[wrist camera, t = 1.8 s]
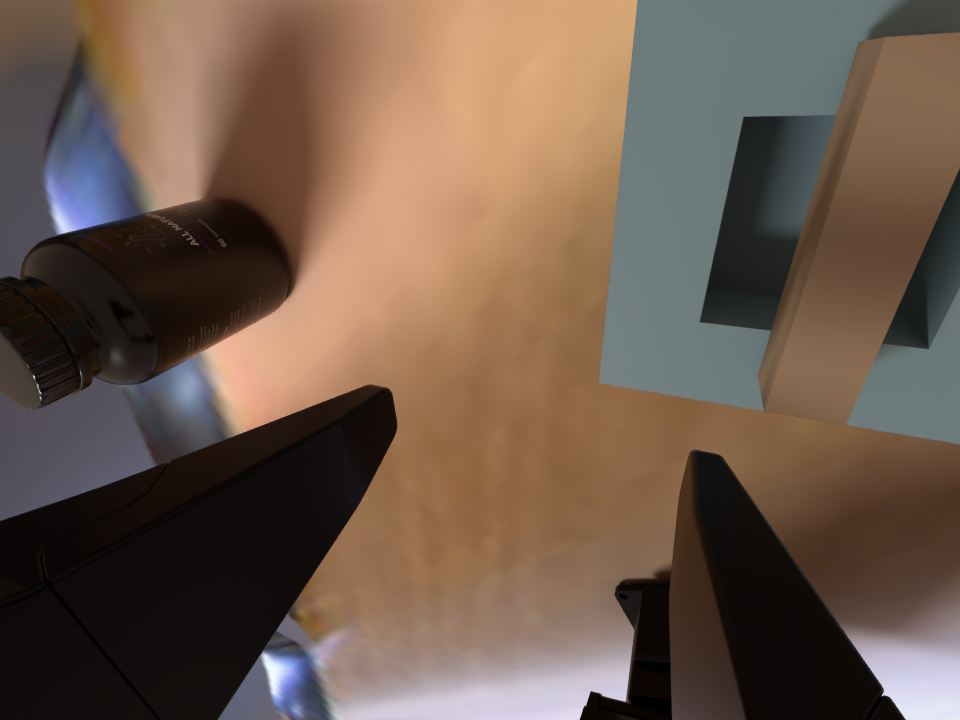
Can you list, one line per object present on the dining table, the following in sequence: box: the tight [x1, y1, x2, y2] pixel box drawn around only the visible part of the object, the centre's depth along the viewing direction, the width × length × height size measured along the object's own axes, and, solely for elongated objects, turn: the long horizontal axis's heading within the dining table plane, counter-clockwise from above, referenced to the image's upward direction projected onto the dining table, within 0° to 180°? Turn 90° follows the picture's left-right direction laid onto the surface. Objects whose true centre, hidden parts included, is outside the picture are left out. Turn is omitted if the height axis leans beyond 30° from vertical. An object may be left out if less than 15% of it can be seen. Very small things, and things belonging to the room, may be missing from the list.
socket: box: [599, 0, 960, 444], centre depth 13 cm, size 12×18×4 cm, turn 92°
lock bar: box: [758, 32, 960, 425], centre depth 12 cm, size 9×2×2 cm, turn 2°
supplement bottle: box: [0, 197, 289, 410], centre depth 22 cm, size 7×7×12 cm
